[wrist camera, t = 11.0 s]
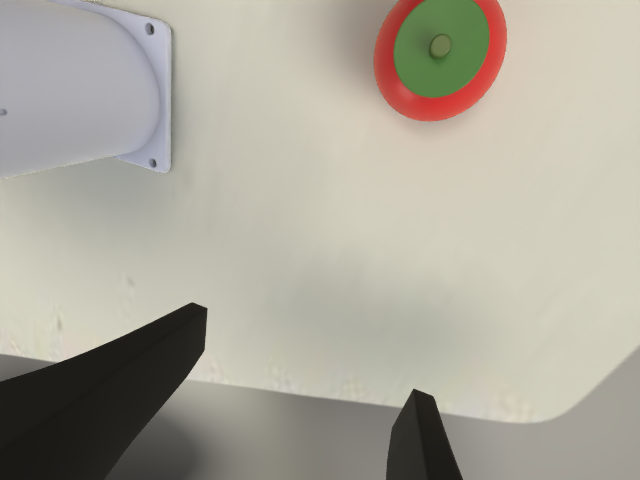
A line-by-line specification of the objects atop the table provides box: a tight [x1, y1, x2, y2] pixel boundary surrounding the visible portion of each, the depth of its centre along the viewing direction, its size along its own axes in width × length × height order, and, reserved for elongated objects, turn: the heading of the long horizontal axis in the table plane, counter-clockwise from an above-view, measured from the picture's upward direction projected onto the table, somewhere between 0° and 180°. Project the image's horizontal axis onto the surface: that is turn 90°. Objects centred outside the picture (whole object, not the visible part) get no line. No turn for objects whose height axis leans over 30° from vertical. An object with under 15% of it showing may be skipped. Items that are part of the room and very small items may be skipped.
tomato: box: [374, 0, 507, 121], centre depth 12 cm, size 5×5×6 cm
